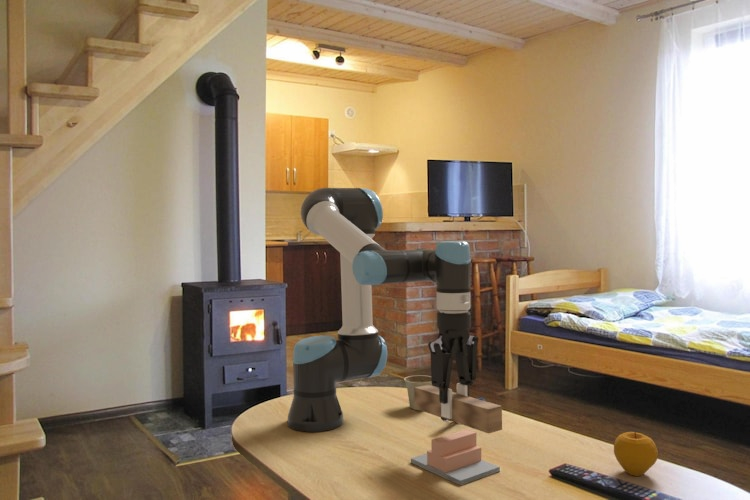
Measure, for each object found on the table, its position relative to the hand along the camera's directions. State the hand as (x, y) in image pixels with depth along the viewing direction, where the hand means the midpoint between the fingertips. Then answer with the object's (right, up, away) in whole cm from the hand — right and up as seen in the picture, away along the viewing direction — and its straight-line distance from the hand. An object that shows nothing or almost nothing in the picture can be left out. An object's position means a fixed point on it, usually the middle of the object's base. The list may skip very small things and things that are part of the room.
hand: (454, 414), depth 140 cm
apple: (+39, -12, -4) cm, 41 cm away
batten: (0, -1, 0) cm, 1 cm away
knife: (+8, -10, +37) cm, 39 cm away
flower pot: (-4, -10, +46) cm, 47 cm away
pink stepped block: (0, -12, +1) cm, 12 cm away
